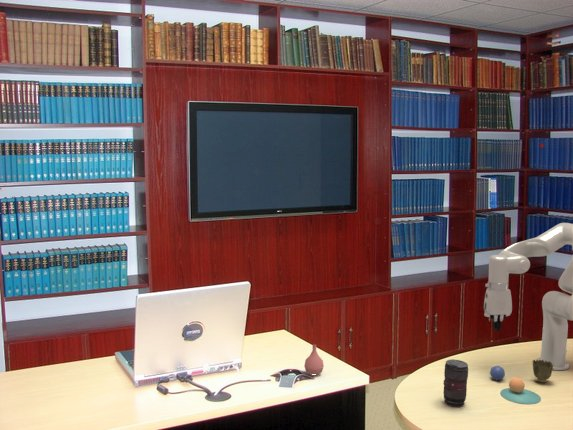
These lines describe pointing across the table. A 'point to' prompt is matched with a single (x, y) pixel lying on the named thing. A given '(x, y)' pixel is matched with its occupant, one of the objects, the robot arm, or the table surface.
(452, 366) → the camera lens
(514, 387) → the object ball
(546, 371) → the cup
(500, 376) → the blue ball
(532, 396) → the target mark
